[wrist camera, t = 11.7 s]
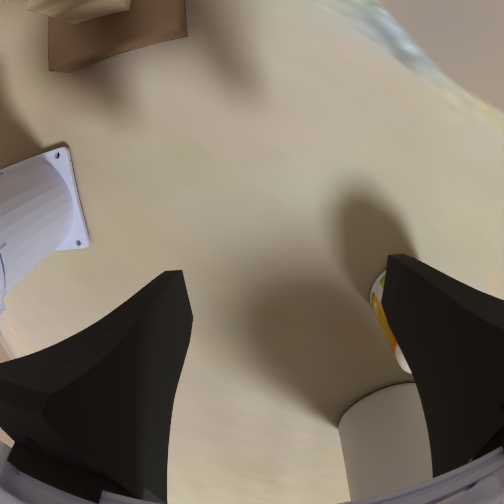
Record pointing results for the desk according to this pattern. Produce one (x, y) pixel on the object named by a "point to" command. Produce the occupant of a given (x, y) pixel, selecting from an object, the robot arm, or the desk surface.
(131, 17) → the walnut block
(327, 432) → the desk surface
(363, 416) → the cylinder vase
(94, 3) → the maple block
